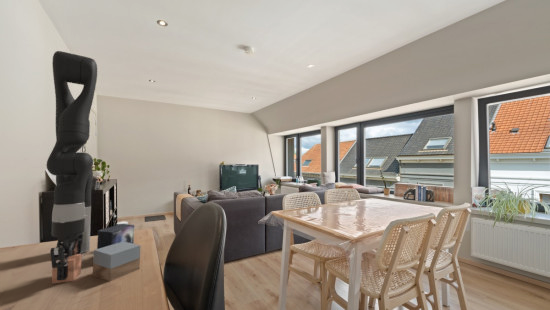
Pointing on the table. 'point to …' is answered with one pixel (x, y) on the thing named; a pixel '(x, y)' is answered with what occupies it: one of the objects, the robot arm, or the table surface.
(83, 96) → the robot arm
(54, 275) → the terracotta block
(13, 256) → the table surface
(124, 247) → the tower top
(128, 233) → the small box
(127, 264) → the tower base
